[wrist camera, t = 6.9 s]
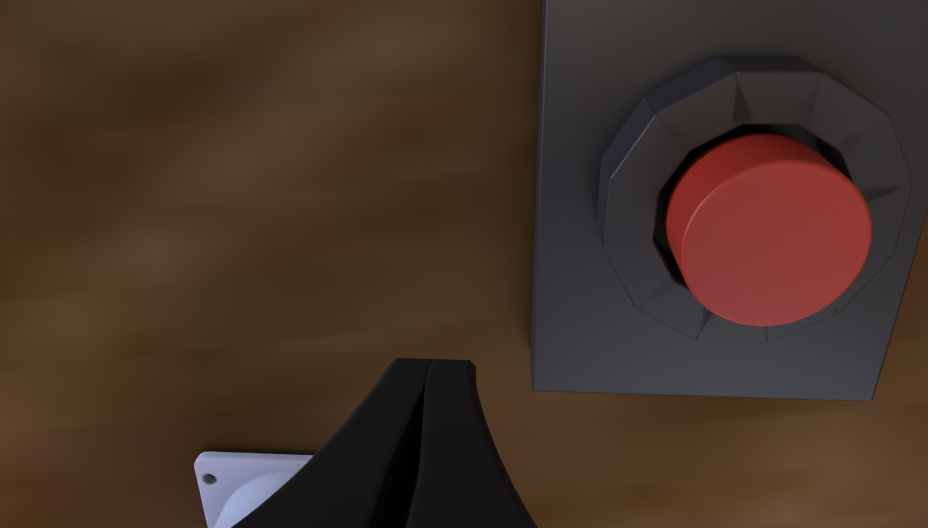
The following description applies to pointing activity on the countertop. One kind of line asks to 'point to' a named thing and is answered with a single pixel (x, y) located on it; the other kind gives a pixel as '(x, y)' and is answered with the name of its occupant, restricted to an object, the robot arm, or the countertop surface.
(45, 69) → the countertop surface
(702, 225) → the red push button
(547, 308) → the control block
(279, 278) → the countertop surface
